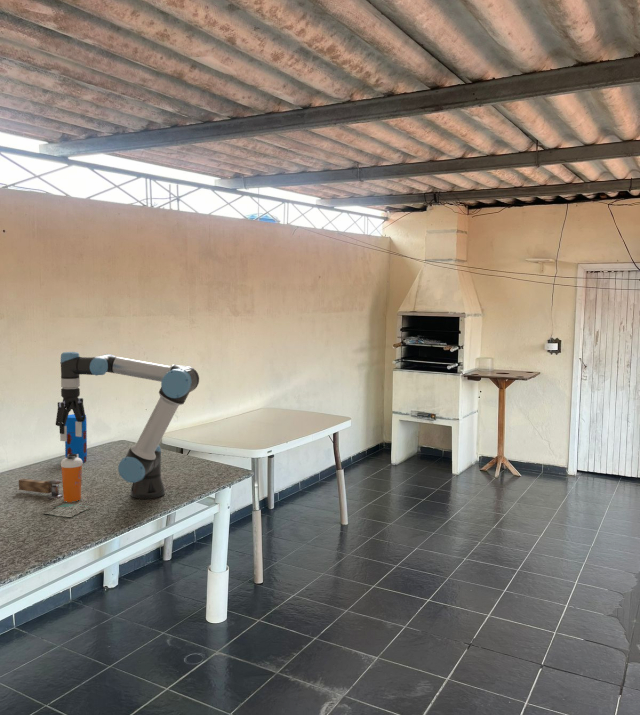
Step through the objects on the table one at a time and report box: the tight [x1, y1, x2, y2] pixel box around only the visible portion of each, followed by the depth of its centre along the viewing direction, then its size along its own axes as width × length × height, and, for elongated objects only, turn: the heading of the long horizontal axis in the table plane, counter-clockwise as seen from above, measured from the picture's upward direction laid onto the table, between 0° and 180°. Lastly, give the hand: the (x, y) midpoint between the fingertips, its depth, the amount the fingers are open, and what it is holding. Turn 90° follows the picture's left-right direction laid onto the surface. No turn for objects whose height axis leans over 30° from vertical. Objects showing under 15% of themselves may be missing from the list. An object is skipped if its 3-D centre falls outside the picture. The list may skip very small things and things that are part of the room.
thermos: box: [64, 413, 88, 464], centre depth 343 cm, size 11×11×25 cm
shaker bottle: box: [60, 454, 84, 503], centre depth 279 cm, size 9×9×20 cm
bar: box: [18, 478, 62, 495], centre depth 286 cm, size 21×5×6 cm, turn 73°
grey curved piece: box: [47, 484, 63, 500], centre depth 284 cm, size 6×6×5 cm
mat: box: [55, 502, 86, 508], centre depth 266 cm, size 13×13×1 cm
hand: (71, 438), depth 278 cm, fingers open, 9 cm apart
